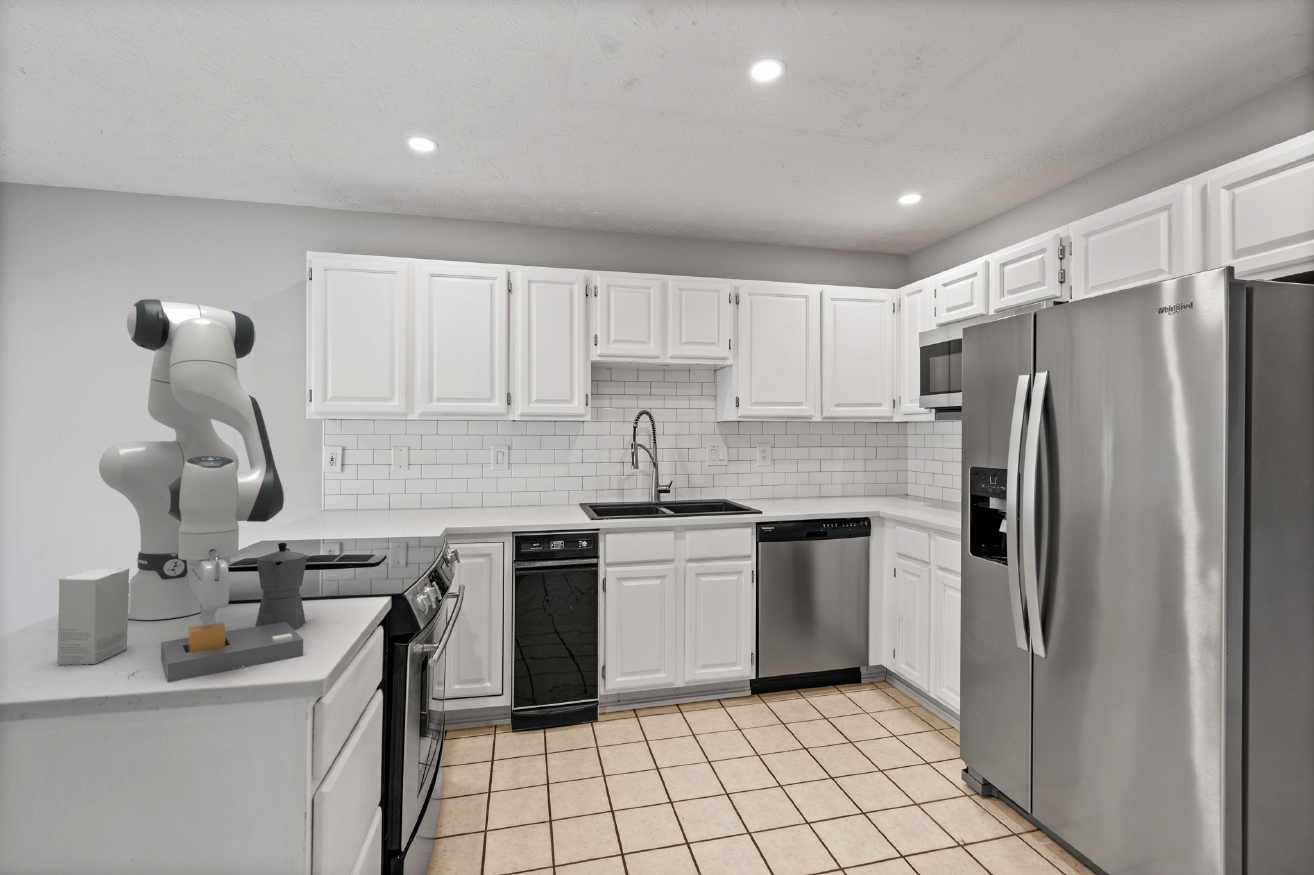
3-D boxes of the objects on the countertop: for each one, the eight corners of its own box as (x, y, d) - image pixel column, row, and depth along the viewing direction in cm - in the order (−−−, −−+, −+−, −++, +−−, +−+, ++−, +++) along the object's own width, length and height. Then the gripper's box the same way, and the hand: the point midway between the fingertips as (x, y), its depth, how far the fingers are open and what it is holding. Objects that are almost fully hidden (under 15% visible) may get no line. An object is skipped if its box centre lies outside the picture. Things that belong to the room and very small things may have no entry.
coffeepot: (302, 633, 129) (304, 546, 129) (249, 638, 125) (251, 549, 125) (309, 613, 143) (311, 535, 143) (261, 617, 139) (263, 537, 139)
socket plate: (160, 658, 114) (161, 638, 114) (285, 636, 127) (286, 618, 127) (167, 681, 103) (168, 660, 103) (302, 655, 117) (303, 636, 117)
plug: (188, 659, 112) (188, 627, 112) (221, 653, 115) (222, 622, 115) (190, 664, 109) (191, 632, 109) (224, 658, 113) (225, 626, 113)
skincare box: (93, 649, 117) (95, 567, 117) (131, 649, 118) (132, 567, 118) (54, 666, 109) (56, 577, 109) (94, 665, 110) (96, 577, 110)
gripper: (240, 552, 107) (238, 633, 107) (221, 537, 122) (220, 608, 122) (194, 557, 103) (193, 641, 103) (181, 540, 118) (179, 613, 118)
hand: (207, 623), depth 112 cm, fingers closed
